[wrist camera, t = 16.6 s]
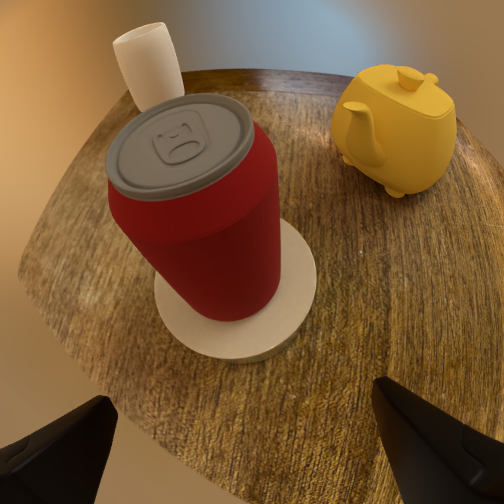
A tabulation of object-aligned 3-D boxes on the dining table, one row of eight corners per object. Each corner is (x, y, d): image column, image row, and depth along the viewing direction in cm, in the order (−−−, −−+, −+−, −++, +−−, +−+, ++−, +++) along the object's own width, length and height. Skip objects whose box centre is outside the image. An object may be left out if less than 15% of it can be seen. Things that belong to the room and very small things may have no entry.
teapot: (283, 174, 30) (278, 70, 19) (379, 110, 35) (392, 37, 24) (383, 254, 24) (435, 155, 13) (456, 162, 29) (489, 88, 18)
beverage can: (251, 219, 21) (223, 70, 11) (301, 292, 18) (319, 146, 8) (170, 261, 20) (83, 135, 10) (208, 343, 17) (100, 255, 7)
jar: (205, 388, 20) (184, 385, 16) (161, 271, 26) (139, 244, 21) (335, 327, 22) (348, 309, 17) (272, 221, 27) (269, 186, 23)
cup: (174, 119, 38) (147, 36, 25) (130, 122, 39) (98, 50, 27) (195, 90, 41) (176, 17, 29) (153, 94, 43) (130, 28, 31)
